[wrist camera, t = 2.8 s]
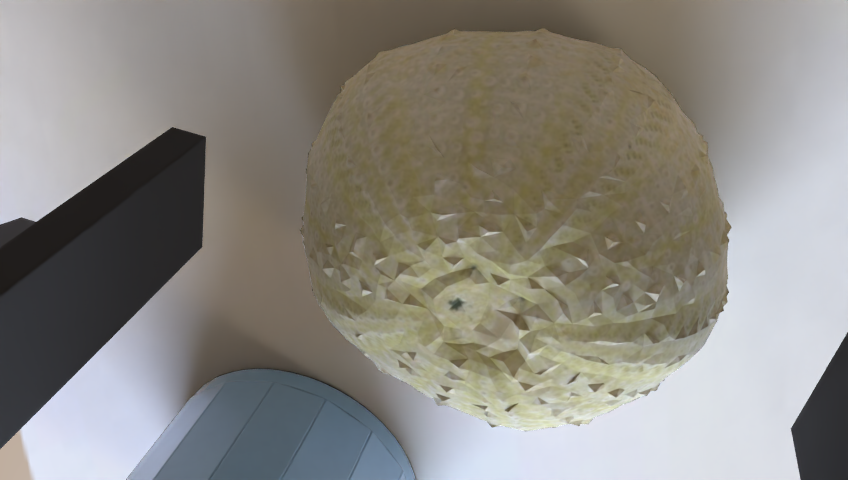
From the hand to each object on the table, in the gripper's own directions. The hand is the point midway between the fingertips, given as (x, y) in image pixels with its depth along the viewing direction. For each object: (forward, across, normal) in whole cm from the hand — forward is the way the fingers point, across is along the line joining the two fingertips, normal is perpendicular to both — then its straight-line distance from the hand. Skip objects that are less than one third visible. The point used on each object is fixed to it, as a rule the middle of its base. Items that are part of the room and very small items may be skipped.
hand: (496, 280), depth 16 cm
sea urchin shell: (+4, 0, 0) cm, 4 cm away
